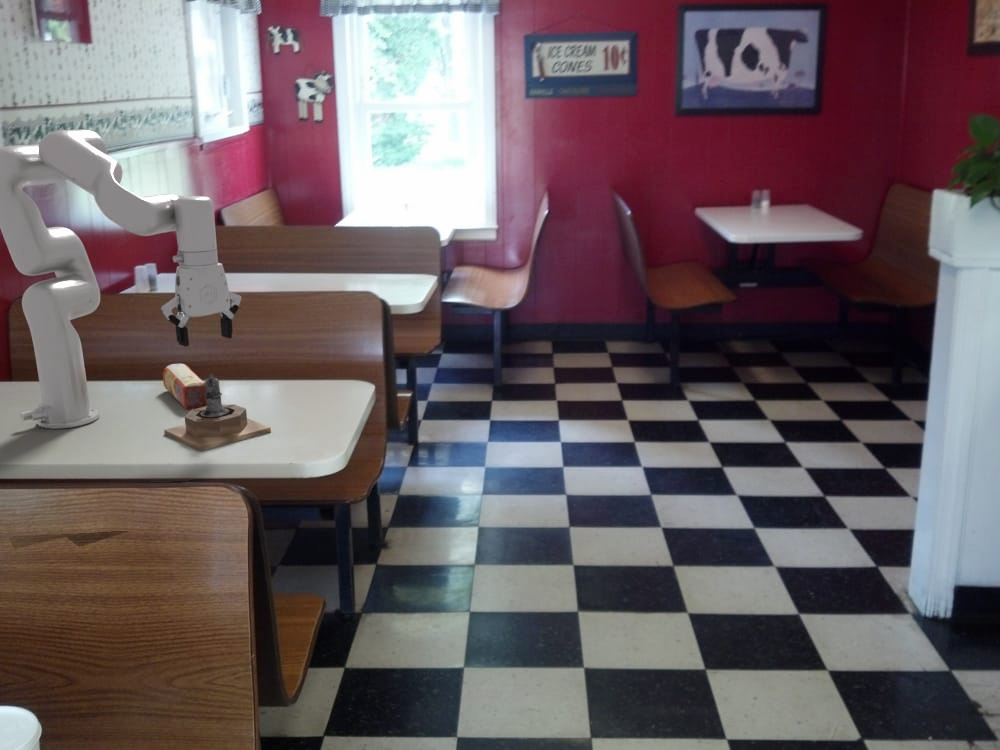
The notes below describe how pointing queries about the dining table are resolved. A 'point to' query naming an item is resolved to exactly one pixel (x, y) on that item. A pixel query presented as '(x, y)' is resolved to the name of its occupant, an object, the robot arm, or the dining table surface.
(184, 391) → the snack package
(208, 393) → the grey upright turned piece
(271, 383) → the dining table surface
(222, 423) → the collar
